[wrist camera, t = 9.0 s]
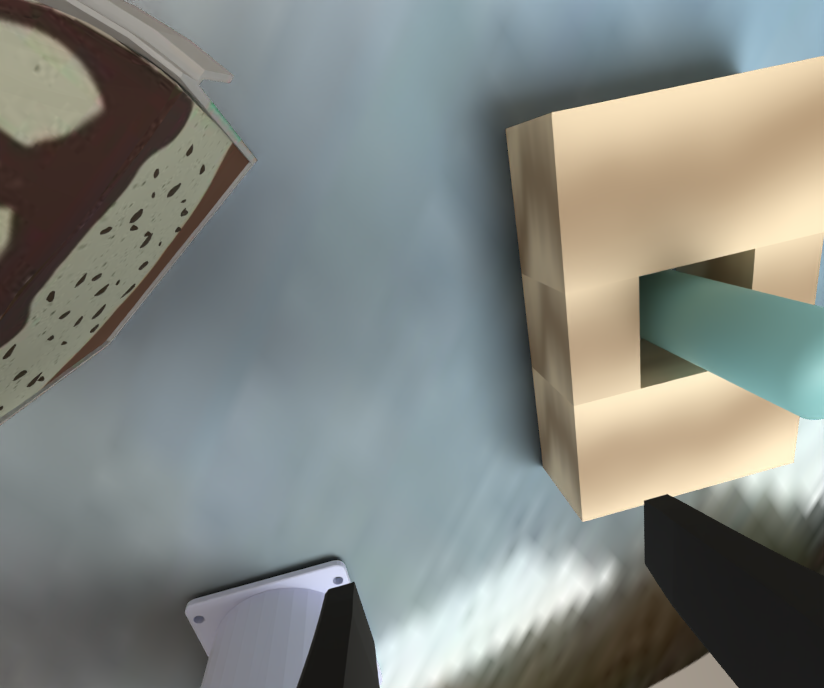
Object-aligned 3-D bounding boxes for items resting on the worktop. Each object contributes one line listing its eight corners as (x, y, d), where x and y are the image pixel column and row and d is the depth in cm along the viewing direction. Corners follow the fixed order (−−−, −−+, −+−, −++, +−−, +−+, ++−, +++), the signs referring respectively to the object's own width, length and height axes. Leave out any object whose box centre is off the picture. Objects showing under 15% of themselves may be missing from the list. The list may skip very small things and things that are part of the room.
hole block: (721, 419, 24) (793, 462, 20) (542, 467, 23) (582, 522, 19) (742, 79, 18) (848, 50, 14) (505, 128, 17) (551, 112, 13)
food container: (124, -23, 14) (-310, -446, 5) (283, 127, 16) (205, 44, 7) (-79, 269, 16) (-686, 387, 6) (88, 371, 18) (-190, 573, 8)
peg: (660, 317, 21) (874, 404, 13) (601, 332, 21) (778, 430, 12) (661, 255, 20) (895, 304, 12) (598, 270, 20) (790, 331, 11)
